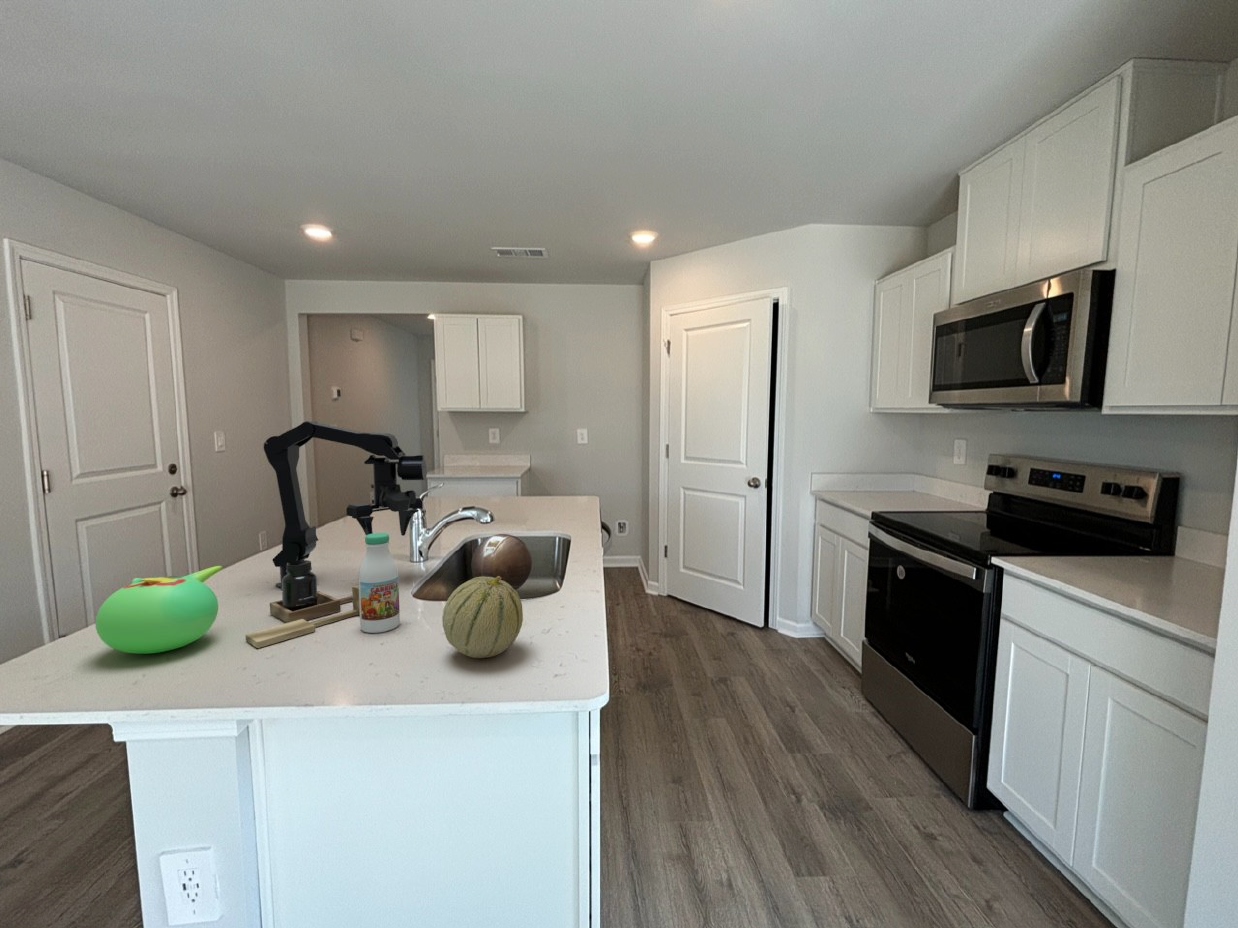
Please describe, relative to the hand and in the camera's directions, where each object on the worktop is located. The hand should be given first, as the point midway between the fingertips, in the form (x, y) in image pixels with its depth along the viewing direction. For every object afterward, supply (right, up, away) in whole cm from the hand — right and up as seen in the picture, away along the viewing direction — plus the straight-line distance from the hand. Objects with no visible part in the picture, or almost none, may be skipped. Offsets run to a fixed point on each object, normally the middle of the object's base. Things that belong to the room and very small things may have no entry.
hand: (387, 538), depth 146 cm
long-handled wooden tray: (-3, -14, -30) cm, 33 cm away
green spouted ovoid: (-26, -16, -41) cm, 51 cm away
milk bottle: (+11, -15, -30) cm, 35 cm away
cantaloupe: (+37, -16, -43) cm, 59 cm away
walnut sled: (-5, -13, -17) cm, 22 cm away
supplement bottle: (-10, -14, -23) cm, 29 cm away
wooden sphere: (+32, -13, -7) cm, 36 cm away
